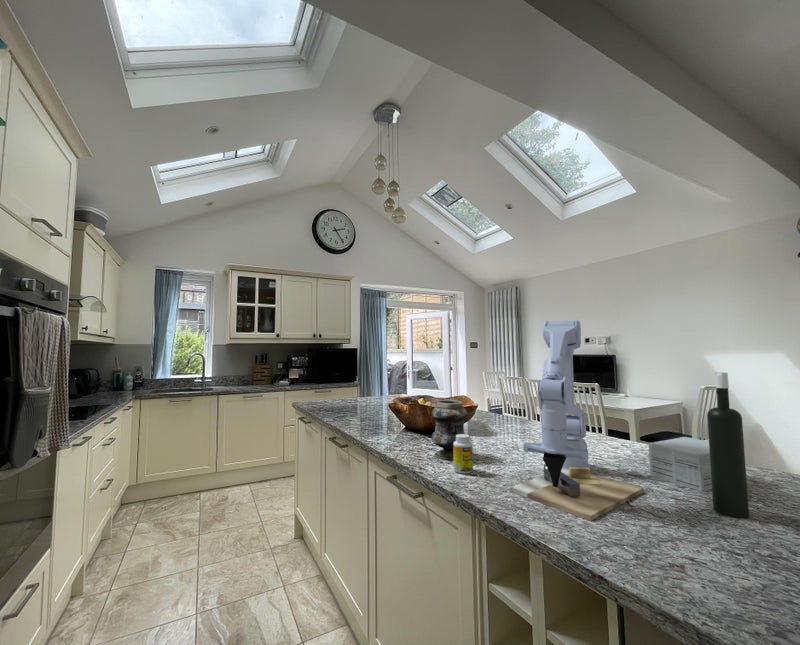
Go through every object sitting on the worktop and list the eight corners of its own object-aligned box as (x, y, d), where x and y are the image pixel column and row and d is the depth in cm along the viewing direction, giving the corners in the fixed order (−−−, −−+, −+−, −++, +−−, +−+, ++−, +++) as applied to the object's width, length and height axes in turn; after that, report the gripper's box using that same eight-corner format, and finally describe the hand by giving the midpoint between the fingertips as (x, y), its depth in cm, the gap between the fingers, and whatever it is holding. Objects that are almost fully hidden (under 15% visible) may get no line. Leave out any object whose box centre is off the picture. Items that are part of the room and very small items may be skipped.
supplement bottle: (462, 475, 104) (462, 438, 105) (449, 470, 109) (449, 434, 109) (477, 472, 107) (476, 436, 108) (463, 467, 112) (463, 432, 112)
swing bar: (541, 476, 99) (541, 462, 99) (553, 476, 99) (553, 461, 100) (568, 496, 85) (567, 479, 86) (581, 496, 86) (581, 479, 86)
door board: (566, 471, 107) (566, 458, 108) (643, 492, 91) (642, 477, 92) (510, 491, 92) (509, 476, 92) (590, 521, 76) (589, 502, 76)
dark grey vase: (471, 461, 118) (469, 403, 119) (433, 461, 118) (432, 403, 119) (464, 450, 130) (464, 398, 131) (430, 450, 130) (430, 398, 131)
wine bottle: (752, 521, 76) (741, 373, 78) (716, 514, 79) (706, 372, 81) (745, 510, 81) (735, 372, 83) (711, 505, 84) (702, 371, 86)
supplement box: (685, 468, 110) (683, 436, 111) (740, 482, 98) (737, 446, 99) (648, 475, 104) (647, 441, 104) (702, 492, 92) (700, 453, 92)
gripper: (519, 427, 91) (520, 484, 90) (584, 435, 83) (586, 497, 82) (527, 423, 97) (528, 476, 96) (588, 430, 89) (591, 488, 88)
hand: (555, 486), depth 89 cm, fingers closed
